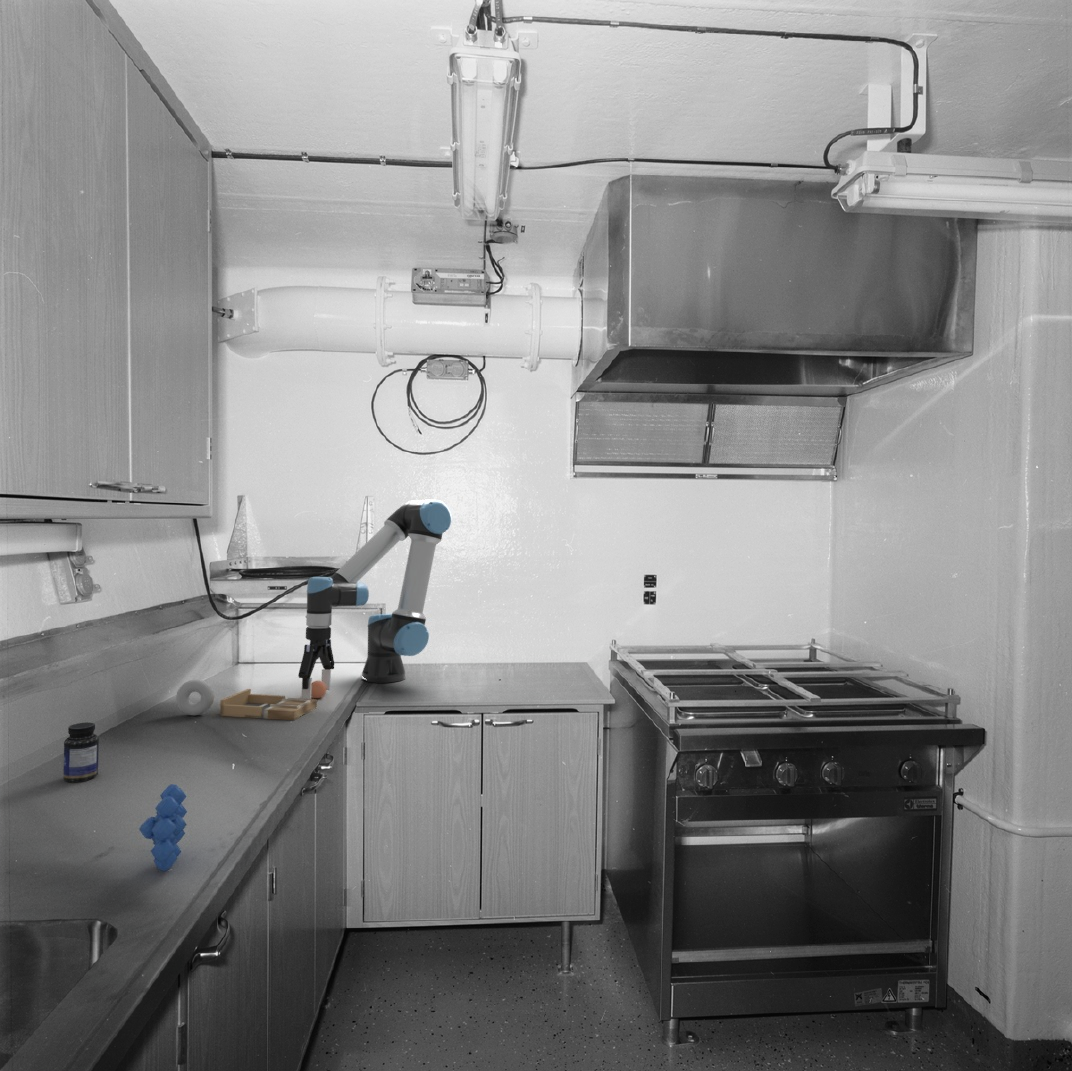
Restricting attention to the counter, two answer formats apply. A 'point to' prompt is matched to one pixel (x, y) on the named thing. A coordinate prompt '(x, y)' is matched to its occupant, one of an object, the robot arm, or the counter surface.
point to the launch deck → (290, 708)
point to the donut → (185, 702)
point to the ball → (318, 689)
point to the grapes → (166, 827)
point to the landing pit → (247, 704)
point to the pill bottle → (81, 753)
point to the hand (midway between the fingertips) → (316, 694)
